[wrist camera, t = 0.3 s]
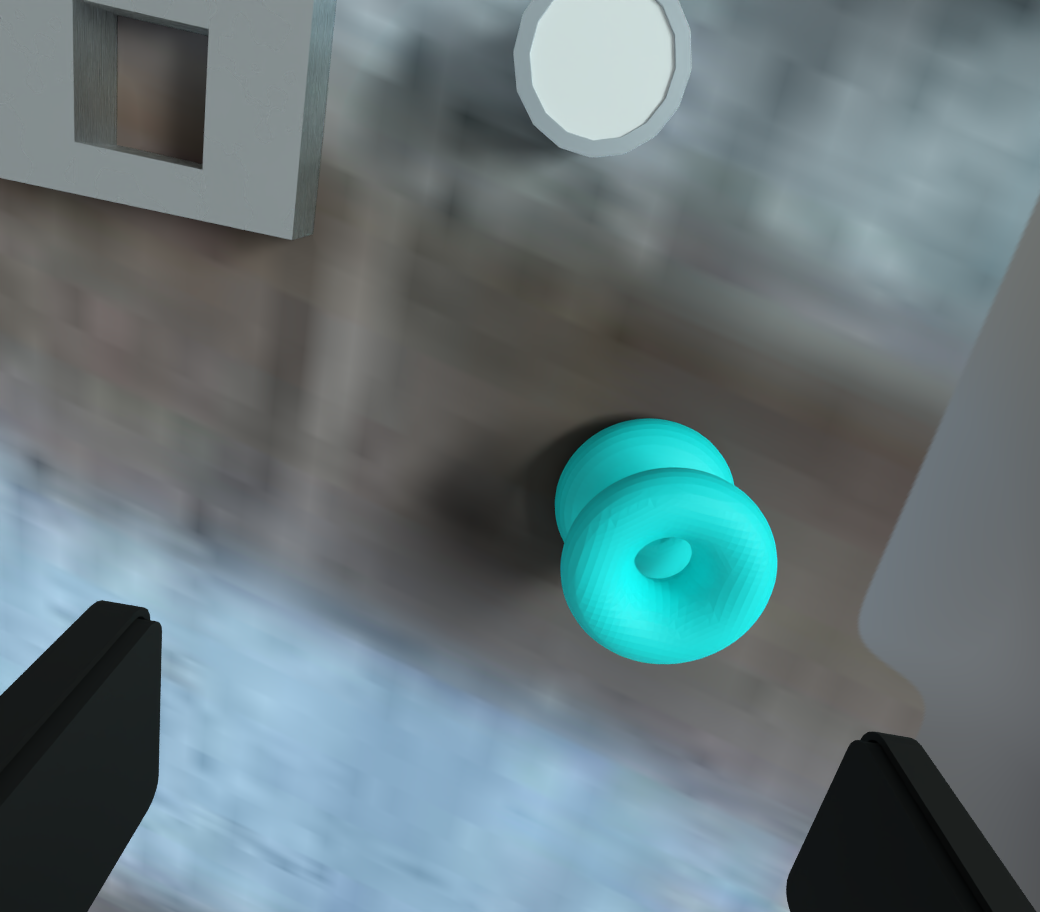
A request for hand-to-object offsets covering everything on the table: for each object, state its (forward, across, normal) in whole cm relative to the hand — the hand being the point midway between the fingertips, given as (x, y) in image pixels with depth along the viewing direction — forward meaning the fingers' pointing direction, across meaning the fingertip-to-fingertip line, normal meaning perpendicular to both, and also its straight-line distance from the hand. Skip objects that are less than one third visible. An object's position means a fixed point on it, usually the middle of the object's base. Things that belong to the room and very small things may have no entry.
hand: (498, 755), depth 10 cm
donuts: (+31, -9, +8) cm, 33 cm away
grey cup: (+31, -1, -12) cm, 33 cm away
